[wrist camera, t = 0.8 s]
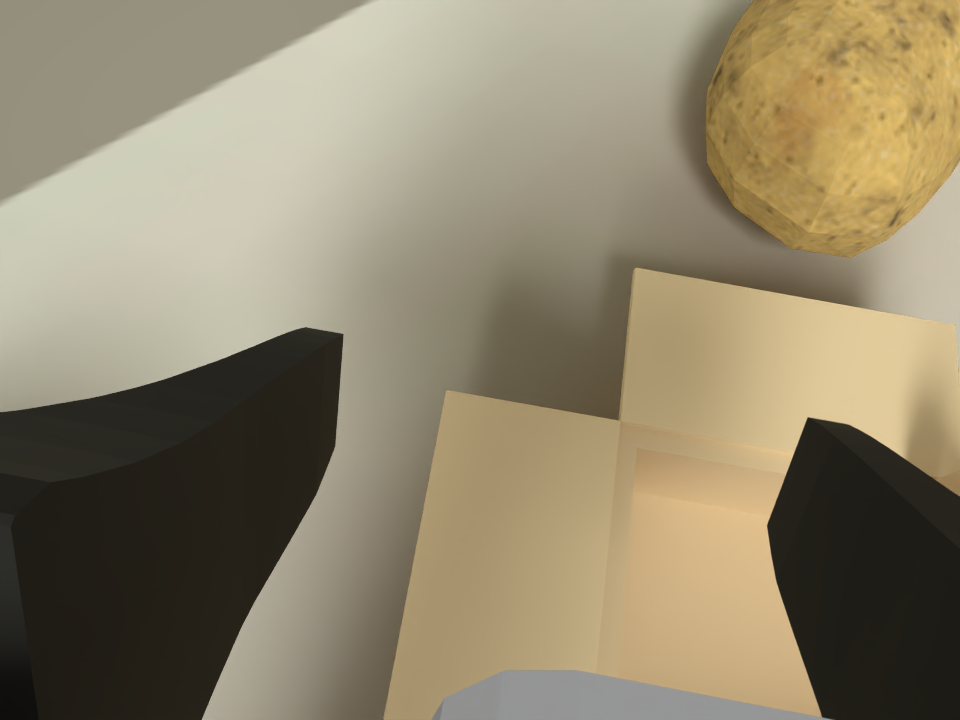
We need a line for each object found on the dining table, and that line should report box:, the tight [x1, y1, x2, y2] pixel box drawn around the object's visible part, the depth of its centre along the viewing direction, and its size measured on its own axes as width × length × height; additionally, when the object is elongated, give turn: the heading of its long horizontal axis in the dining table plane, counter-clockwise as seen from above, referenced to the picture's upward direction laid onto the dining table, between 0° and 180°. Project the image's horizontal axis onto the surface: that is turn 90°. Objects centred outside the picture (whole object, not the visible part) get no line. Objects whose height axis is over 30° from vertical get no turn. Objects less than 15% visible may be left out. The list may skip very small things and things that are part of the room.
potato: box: [705, 0, 960, 258], centre depth 29 cm, size 10×14×10 cm
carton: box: [383, 267, 960, 720], centre depth 21 cm, size 22×15×8 cm
